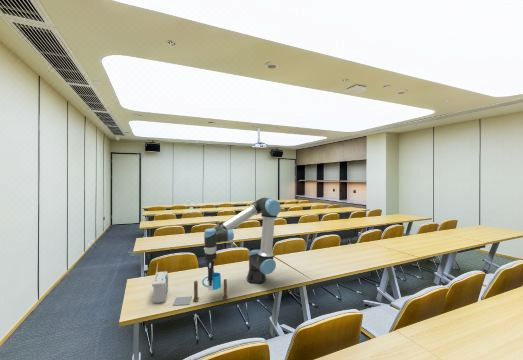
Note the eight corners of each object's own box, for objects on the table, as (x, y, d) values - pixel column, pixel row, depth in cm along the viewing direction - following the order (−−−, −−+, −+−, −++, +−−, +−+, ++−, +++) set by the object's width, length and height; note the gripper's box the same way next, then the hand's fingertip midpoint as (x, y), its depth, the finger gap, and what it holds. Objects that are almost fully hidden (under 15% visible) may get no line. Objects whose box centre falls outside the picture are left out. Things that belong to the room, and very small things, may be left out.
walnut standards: (227, 297, 166) (227, 278, 166) (227, 300, 162) (227, 280, 162) (194, 299, 164) (193, 280, 163) (193, 302, 160) (193, 282, 159)
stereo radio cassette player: (165, 303, 159) (165, 272, 158) (151, 304, 156) (151, 273, 156) (168, 288, 179) (168, 261, 178) (156, 290, 176) (155, 262, 176)
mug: (220, 283, 168) (220, 272, 168) (220, 289, 160) (220, 276, 160) (202, 285, 166) (202, 273, 166) (201, 291, 158) (201, 278, 158)
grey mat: (191, 297, 166) (191, 296, 166) (189, 304, 156) (189, 304, 156) (176, 298, 165) (176, 297, 165) (172, 305, 155) (172, 305, 155)
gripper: (206, 248, 172) (206, 280, 173) (202, 258, 152) (203, 295, 152) (217, 247, 173) (217, 279, 174) (215, 257, 152) (216, 294, 153)
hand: (211, 286), depth 163 cm, fingers closed on mug, 8 cm apart
